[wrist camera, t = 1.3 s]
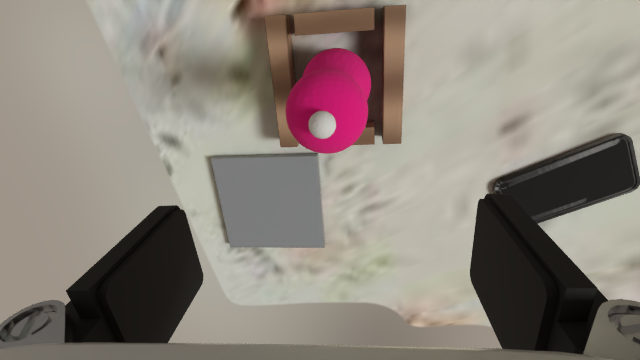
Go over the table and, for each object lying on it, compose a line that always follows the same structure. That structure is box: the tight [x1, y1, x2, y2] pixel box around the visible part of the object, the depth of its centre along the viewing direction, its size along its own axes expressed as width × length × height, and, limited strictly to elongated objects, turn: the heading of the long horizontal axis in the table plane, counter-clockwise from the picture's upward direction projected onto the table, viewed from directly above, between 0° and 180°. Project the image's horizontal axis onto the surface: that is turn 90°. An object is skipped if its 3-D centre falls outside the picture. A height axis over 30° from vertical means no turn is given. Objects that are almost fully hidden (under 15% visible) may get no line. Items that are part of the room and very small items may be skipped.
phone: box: [493, 133, 640, 224], centre depth 41 cm, size 8×1×15 cm
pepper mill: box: [285, 48, 371, 153], centre depth 30 cm, size 7×7×20 cm
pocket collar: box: [264, 5, 406, 147], centre depth 37 cm, size 14×14×3 cm
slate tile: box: [211, 153, 325, 248], centre depth 46 cm, size 14×14×1 cm
